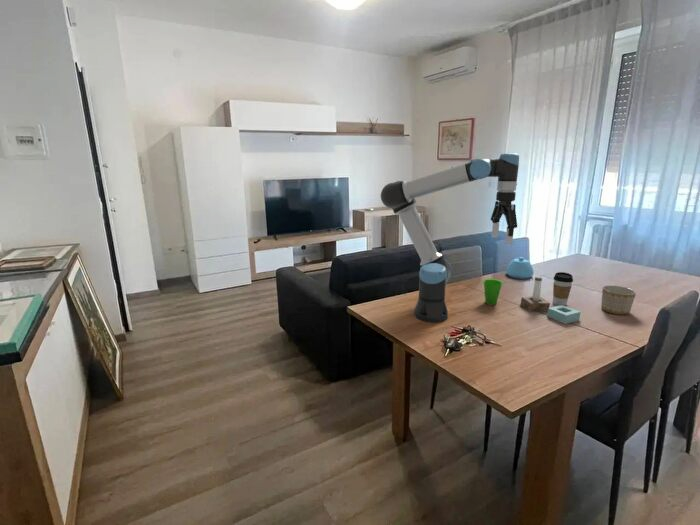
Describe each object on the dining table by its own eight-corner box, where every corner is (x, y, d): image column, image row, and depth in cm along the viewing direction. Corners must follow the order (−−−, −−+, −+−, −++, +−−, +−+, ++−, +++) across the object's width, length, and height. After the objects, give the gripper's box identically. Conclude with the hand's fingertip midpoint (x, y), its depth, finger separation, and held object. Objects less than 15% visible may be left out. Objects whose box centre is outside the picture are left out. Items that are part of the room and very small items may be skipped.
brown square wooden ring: (530, 311, 175) (531, 303, 174) (520, 304, 183) (521, 296, 182) (548, 310, 175) (550, 302, 174) (538, 303, 184) (539, 296, 183)
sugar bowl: (537, 279, 221) (539, 260, 218) (512, 279, 221) (514, 260, 218) (526, 272, 236) (528, 254, 232) (502, 272, 236) (504, 254, 233)
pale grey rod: (533, 308, 178) (537, 279, 174) (530, 306, 181) (533, 277, 177) (539, 308, 178) (543, 278, 174) (535, 306, 181) (539, 276, 177)
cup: (502, 306, 181) (504, 285, 178) (482, 305, 183) (484, 284, 180) (498, 300, 189) (500, 279, 187) (480, 298, 191) (482, 278, 188)
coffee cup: (568, 301, 186) (573, 273, 182) (570, 307, 179) (574, 278, 175) (549, 299, 189) (553, 271, 185) (550, 305, 182) (554, 275, 178)
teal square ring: (565, 323, 161) (566, 315, 160) (547, 316, 169) (548, 308, 168) (579, 320, 165) (580, 311, 164) (561, 312, 173) (562, 304, 172)
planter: (602, 303, 183) (606, 283, 180) (634, 310, 174) (638, 289, 172) (595, 311, 175) (599, 289, 172) (628, 318, 166) (633, 296, 163)
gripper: (530, 193, 147) (524, 246, 152) (501, 188, 171) (497, 234, 176) (511, 194, 146) (506, 246, 152) (485, 189, 170) (481, 234, 176)
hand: (501, 240), depth 164 cm, fingers open, 13 cm apart
